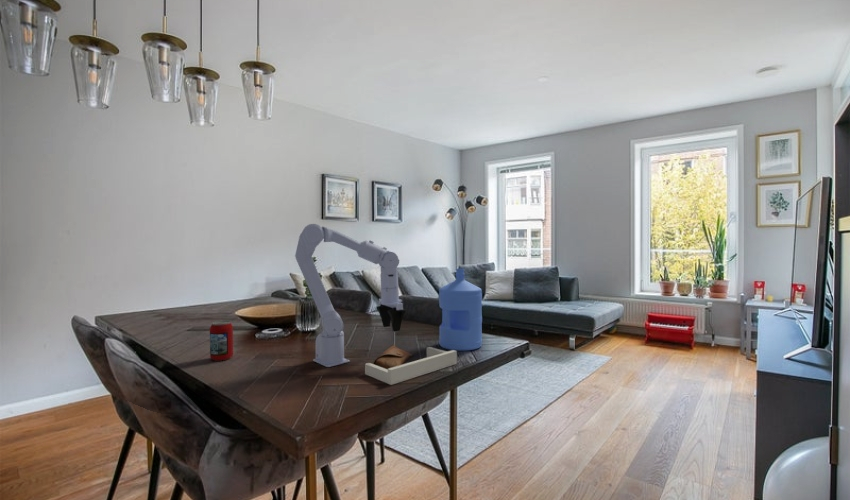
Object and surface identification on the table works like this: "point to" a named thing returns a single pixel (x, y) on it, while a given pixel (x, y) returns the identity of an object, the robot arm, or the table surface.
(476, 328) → the water jug
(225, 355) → the beverage can
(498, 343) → the table surface
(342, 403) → the table surface
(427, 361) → the cream tray
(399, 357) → the sunglasses case
